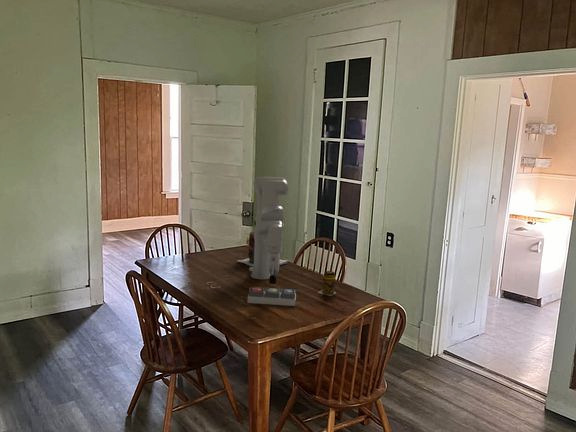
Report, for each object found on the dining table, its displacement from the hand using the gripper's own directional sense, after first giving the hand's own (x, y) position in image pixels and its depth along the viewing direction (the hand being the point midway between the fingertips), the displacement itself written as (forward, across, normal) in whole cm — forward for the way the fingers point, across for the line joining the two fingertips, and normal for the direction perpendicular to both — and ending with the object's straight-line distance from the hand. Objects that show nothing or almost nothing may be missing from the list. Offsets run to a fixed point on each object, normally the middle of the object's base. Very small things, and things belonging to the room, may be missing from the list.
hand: (272, 283), depth 243 cm
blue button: (+5, -1, -8) cm, 10 cm away
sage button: (+5, -1, 0) cm, 5 cm away
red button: (+5, -1, +8) cm, 10 cm away
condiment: (+10, +17, -29) cm, 35 cm away
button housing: (+9, -1, 0) cm, 9 cm away
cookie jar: (+12, +68, +11) cm, 70 cm away
